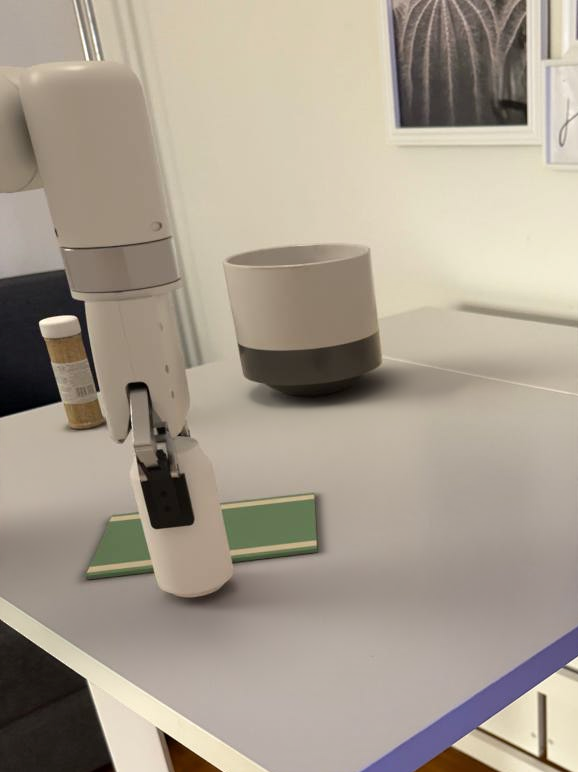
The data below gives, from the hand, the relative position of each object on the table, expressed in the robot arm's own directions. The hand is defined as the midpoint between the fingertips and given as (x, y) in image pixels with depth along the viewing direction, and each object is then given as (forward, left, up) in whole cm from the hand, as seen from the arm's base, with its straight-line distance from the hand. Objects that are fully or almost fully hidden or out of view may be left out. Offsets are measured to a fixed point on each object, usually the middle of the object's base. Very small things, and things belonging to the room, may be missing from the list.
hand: (178, 506), depth 74 cm
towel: (0, +12, -8) cm, 14 cm away
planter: (+11, +61, -8) cm, 62 cm away
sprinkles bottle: (-19, +54, -8) cm, 58 cm away
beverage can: (0, 0, -7) cm, 7 cm away
